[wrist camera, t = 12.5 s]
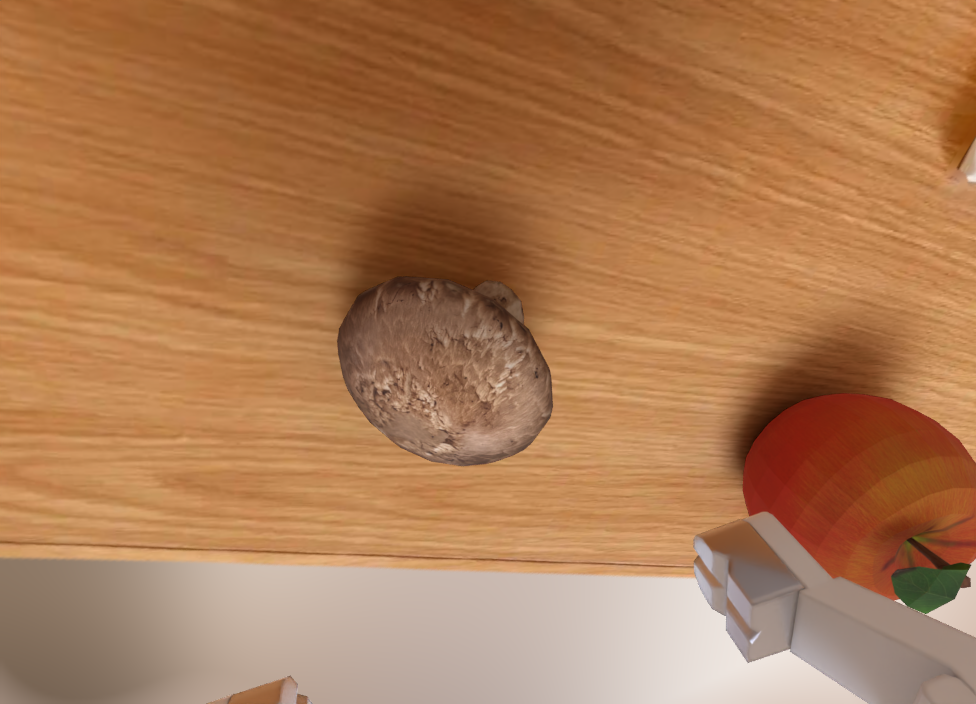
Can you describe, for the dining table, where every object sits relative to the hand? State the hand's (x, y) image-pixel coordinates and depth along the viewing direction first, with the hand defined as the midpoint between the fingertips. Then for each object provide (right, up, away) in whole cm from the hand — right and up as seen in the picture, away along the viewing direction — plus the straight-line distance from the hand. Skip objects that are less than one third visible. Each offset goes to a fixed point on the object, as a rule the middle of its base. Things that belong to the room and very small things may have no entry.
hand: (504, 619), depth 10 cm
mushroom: (-3, +6, +11) cm, 13 cm away
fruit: (+16, 0, +19) cm, 25 cm away
